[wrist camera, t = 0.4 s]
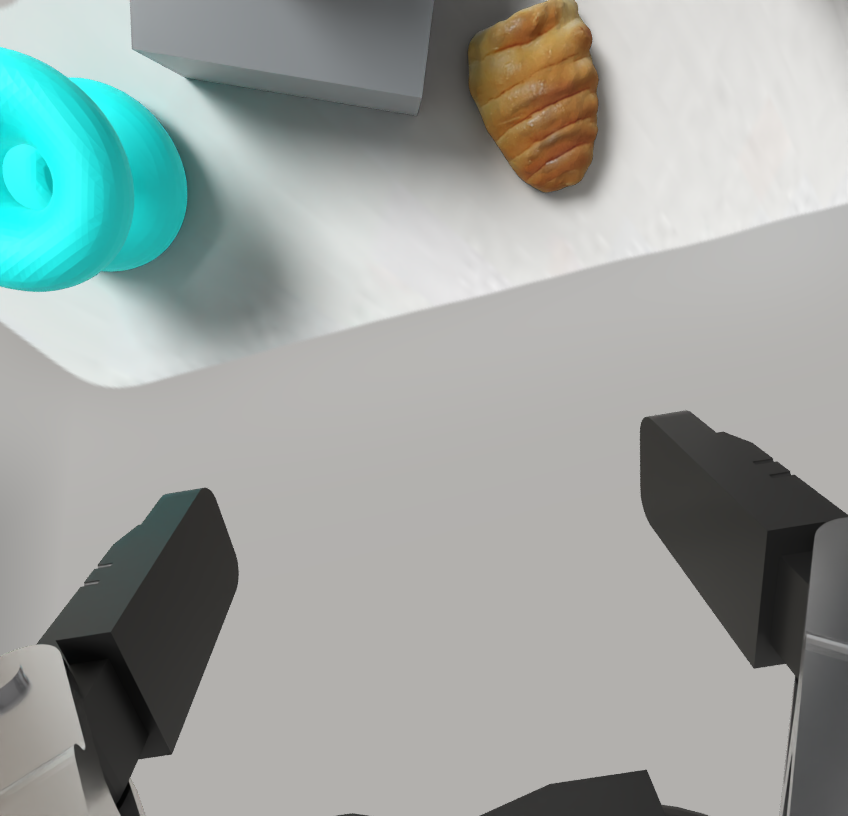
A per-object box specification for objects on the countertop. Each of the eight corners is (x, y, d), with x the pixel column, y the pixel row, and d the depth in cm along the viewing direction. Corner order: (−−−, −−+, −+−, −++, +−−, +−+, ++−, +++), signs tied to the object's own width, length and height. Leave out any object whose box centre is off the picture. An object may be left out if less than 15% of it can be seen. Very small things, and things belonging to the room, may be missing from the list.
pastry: (611, 165, 34) (636, 162, 30) (507, 210, 34) (519, 213, 31) (565, -8, 30) (587, -34, 27) (451, 47, 31) (458, 28, 28)
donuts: (-2, 338, 26) (-198, 134, 22) (104, 298, 35) (-23, 150, 32) (165, 216, 24) (-18, -23, 21) (229, 209, 33) (110, 43, 30)
